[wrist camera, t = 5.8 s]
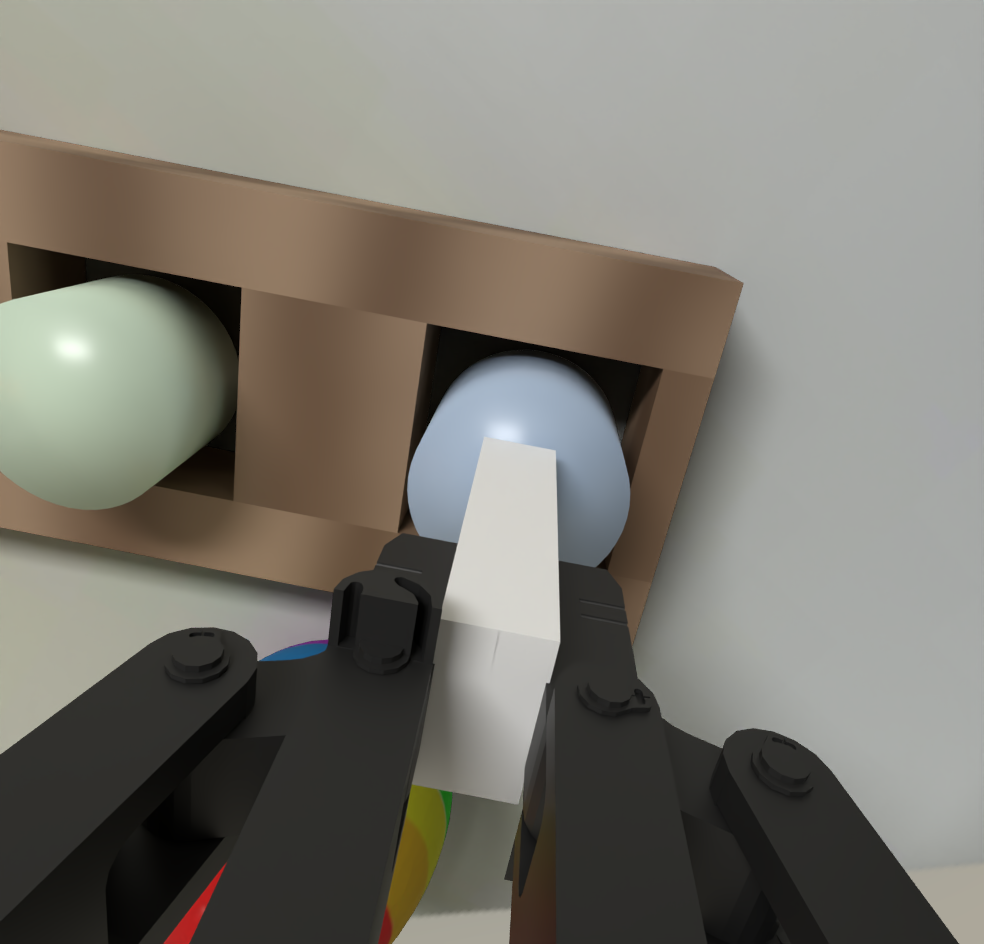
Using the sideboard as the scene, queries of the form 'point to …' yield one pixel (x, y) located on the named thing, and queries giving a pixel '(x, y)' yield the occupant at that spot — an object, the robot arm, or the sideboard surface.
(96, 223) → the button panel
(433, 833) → the decorative egg
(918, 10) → the sideboard surface
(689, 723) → the sideboard surface
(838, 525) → the sideboard surface
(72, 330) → the sage button
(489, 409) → the slate blue button
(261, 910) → the robot arm
